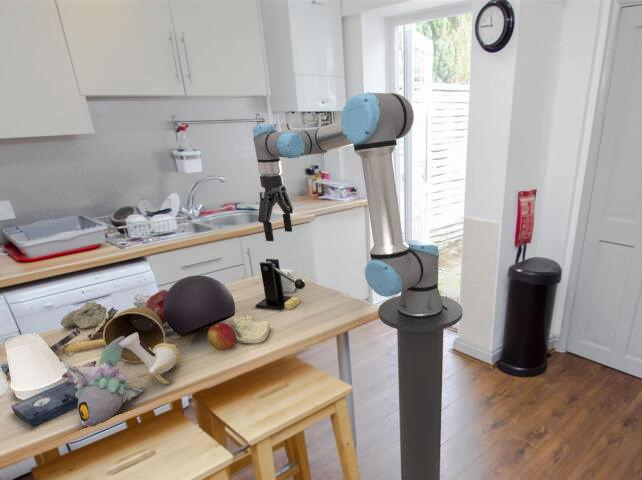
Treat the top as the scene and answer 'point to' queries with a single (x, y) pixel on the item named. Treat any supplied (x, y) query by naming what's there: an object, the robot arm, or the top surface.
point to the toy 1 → (64, 340)
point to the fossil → (85, 316)
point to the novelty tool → (95, 344)
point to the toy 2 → (100, 386)
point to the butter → (292, 302)
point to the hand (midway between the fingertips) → (279, 236)
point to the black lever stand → (272, 287)
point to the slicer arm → (289, 277)
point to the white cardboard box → (286, 283)
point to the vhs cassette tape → (46, 404)
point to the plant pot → (135, 330)
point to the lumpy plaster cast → (250, 330)
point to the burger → (103, 323)
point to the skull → (141, 300)
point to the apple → (221, 336)
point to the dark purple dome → (197, 304)
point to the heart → (157, 304)
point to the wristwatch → (5, 368)
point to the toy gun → (153, 356)
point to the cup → (32, 365)
